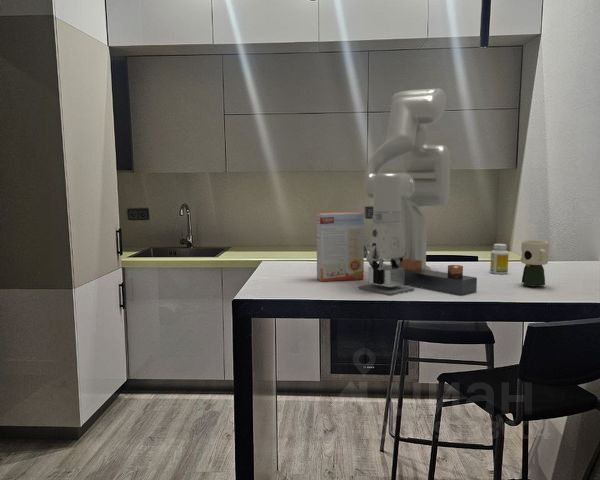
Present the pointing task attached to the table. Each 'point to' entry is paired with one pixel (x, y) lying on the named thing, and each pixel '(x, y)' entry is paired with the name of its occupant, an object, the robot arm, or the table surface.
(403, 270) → the lever cap
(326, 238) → the cracker box
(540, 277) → the character mug
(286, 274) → the table surface
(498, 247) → the supplement bottle
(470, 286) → the body
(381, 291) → the rubber mat
